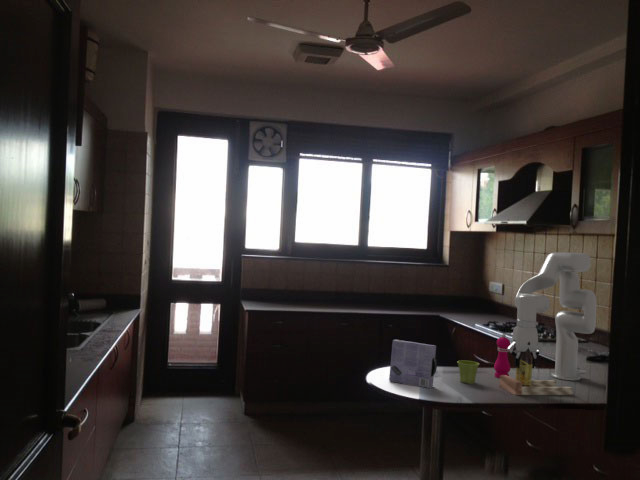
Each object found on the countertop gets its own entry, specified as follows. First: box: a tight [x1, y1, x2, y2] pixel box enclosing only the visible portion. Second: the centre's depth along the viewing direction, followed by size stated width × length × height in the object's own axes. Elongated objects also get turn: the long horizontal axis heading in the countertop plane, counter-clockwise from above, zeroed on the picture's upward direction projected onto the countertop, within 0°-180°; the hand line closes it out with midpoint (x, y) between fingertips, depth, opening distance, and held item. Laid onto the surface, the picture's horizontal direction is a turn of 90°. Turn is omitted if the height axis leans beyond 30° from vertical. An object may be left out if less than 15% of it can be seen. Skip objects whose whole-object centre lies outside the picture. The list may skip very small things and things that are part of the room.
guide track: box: [499, 375, 573, 396], centre depth 235 cm, size 26×12×5 cm, turn 101°
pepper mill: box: [493, 333, 511, 379], centre depth 258 cm, size 7×7×20 cm
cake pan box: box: [388, 339, 438, 389], centre depth 235 cm, size 19×5×18 cm, turn 64°
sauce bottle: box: [515, 342, 533, 387], centre depth 234 cm, size 7×6×20 cm
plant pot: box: [456, 360, 480, 385], centre depth 244 cm, size 9×9×9 cm
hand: (524, 366), depth 234 cm, fingers closed on sauce bottle, 6 cm apart
